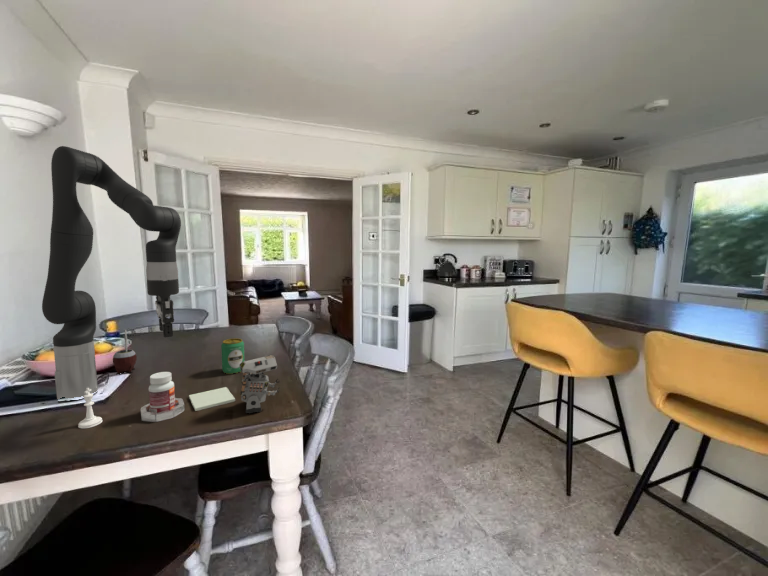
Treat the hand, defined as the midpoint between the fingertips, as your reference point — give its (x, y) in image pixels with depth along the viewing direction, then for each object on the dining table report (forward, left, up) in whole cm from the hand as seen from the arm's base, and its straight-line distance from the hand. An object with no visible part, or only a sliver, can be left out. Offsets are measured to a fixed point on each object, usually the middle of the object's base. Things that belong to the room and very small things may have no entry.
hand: (166, 333), depth 97 cm
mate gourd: (-10, +43, -23) cm, 50 cm away
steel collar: (-2, -2, -23) cm, 23 cm away
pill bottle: (-2, -2, -23) cm, 23 cm away
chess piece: (-18, +2, -23) cm, 29 cm away
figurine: (+22, -14, -23) cm, 35 cm away
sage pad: (+11, -1, -23) cm, 25 cm away
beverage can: (+23, +21, -23) cm, 39 cm away
